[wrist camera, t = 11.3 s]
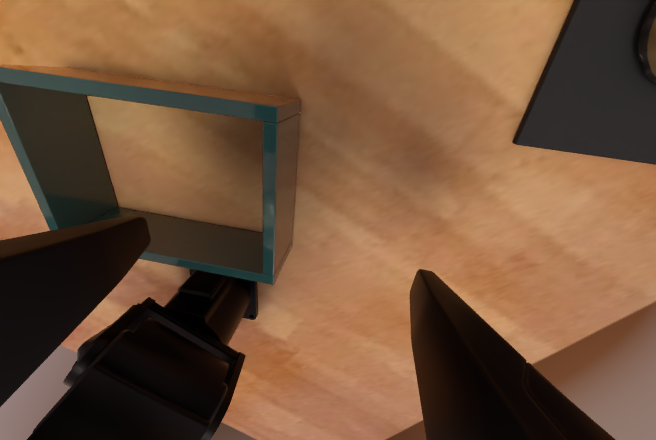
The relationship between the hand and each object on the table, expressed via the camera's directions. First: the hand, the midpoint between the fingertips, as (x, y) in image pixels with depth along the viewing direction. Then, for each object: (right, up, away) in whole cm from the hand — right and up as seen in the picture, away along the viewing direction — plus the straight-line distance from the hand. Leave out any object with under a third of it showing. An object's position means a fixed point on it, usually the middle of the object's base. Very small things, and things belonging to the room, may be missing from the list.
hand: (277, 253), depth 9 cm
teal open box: (-9, +5, +12) cm, 16 cm away
